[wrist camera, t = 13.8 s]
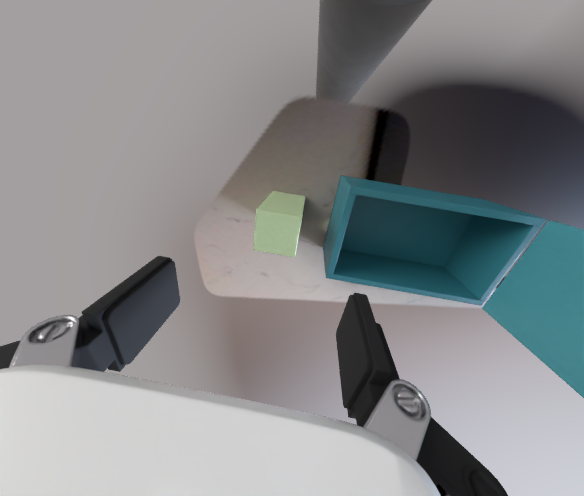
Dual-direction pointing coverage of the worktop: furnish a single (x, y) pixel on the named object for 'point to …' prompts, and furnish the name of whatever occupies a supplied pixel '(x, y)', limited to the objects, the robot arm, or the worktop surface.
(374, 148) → the worktop surface
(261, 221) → the carton
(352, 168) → the worktop surface
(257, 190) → the worktop surface
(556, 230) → the lunchbox lid
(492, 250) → the box
